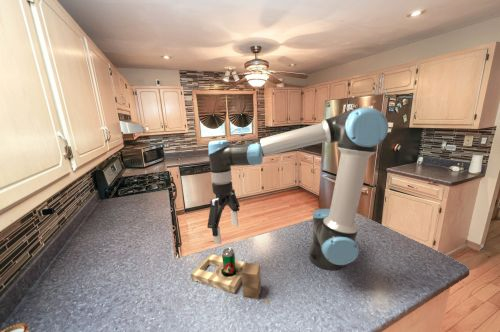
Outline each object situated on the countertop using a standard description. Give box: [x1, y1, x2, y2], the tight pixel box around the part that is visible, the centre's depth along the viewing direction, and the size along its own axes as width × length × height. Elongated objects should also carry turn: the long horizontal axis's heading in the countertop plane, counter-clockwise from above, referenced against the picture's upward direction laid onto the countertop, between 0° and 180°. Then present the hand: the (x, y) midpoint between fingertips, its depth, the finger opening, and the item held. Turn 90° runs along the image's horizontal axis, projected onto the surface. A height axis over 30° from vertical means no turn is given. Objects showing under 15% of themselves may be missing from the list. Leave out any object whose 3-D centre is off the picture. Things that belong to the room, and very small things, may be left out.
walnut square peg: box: [241, 262, 262, 300], centre depth 76 cm, size 6×6×10 cm
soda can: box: [221, 247, 237, 277], centre depth 84 cm, size 5×5×12 cm
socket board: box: [190, 253, 247, 294], centre depth 86 cm, size 20×14×3 cm
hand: (227, 233), depth 81 cm, fingers open, 13 cm apart
